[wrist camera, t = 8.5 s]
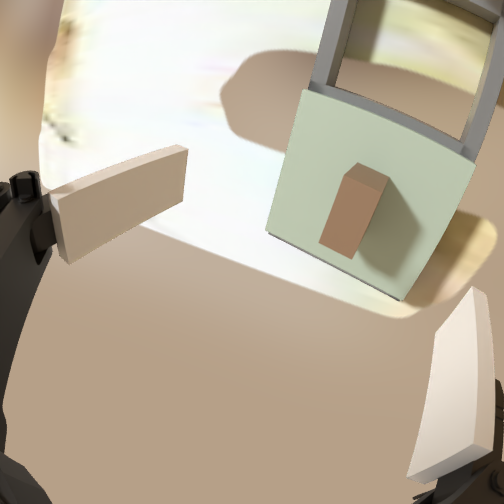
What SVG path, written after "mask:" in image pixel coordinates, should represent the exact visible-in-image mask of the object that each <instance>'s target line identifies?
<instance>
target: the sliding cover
mask: <svg viewBox="0 0 504 504" xmlns="http://www.w3.org/2000/svg"><path fill="white" fill-rule="evenodd" d="M475 168H476V164H475V163H474V162H472V161H471V160H469V159H467V158H465V157H464V156H462V155H460V154H458V153H457V152H455V151H453V150H451V149H449V148H447V147H446V146H444V145H442V144H440V143H438V142H436V141H434V140H432V139H430V138H428V137H426V136H424V135H422V134H420V133H418V132H416V131H414V130H412V129H409V128H407V127H405V126H403V125H401V124H399V123H396V122H394V121H392V120H389V119H387V118H385V117H382V116H380V115H378V114H375V113H373V112H370V111H368V110H365V109H363V108H360V107H357V106H355V105H352V104H349V103H347V102H344V101H341V100H338V99H335V98H332V97H329V96H326V95H323V94H320V93H317V92H314V91H311V90H307V89H303V91H302V94H301V98H300V102H299V106H298V109H297V113H296V117H295V121H294V125H293V128H292V132H291V136H290V139H289V143H288V147H287V151H286V154H285V158H284V162H283V166H282V169H281V173H280V177H279V180H278V184H277V188H276V192H275V195H274V199H273V203H272V206H271V210H270V214H269V217H268V221H267V225H266V228H265V230H266V231H268V232H270V233H272V234H274V235H276V236H278V237H280V238H282V239H284V240H286V241H288V242H290V243H292V244H294V245H296V246H298V247H300V248H302V249H304V250H306V251H308V252H309V253H311V254H313V255H315V256H317V257H319V258H321V259H323V260H325V261H327V262H329V263H331V264H333V265H335V266H337V267H339V268H341V269H343V270H345V271H346V272H348V273H350V274H352V275H354V276H356V277H358V278H360V279H362V280H364V281H366V282H367V283H369V284H371V285H373V286H375V287H377V288H379V289H381V290H383V291H385V292H386V293H388V294H390V295H392V296H394V297H396V298H398V299H400V300H401V301H403V299H404V298H405V296H406V295H407V293H408V292H409V290H410V289H411V287H412V286H413V284H414V283H415V281H416V279H417V278H418V276H419V275H420V273H421V271H422V270H423V268H424V267H425V265H426V263H427V262H428V260H429V258H430V256H431V255H432V253H433V251H434V250H435V248H436V246H437V244H438V243H439V241H440V239H441V237H442V235H443V234H444V232H445V230H446V228H447V226H448V224H449V222H450V220H451V219H452V217H453V215H454V213H455V211H456V209H457V207H458V205H459V203H460V201H461V199H462V197H463V194H464V192H465V190H466V188H467V186H468V183H469V182H470V179H471V177H472V175H473V172H474V170H475Z"/></svg>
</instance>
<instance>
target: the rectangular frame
mask: <svg viewBox="0 0 504 504" xmlns="http://www.w3.org/2000/svg"><path fill="white" fill-rule="evenodd" d="M444 1H447V2H449V3H451V4H454V5H456V6H458V7H460V8H463V9H465V10H467V11H469V12H471V13H473V14H475V15H477V16H479V17H481V18H483V19H485V20H487V21H489V22H491V23H493V24H494V25H493V30H492V35H491V39H490V44H489V48H488V52H487V56H486V60H485V64H484V68H483V72H482V75H481V79H480V82H479V85H478V89H477V92H476V95H475V98H474V102H473V105H472V108H471V111H470V113H469V116H468V119H467V122H466V125H465V128H464V130H463V133H462V136H461V138H460V141H459V140H457V139H456V138H454V137H452V136H450V135H448V134H446V133H444V132H442V131H441V130H438V129H436V128H434V127H433V126H430V125H429V124H427V123H424V122H422V121H420V120H418V119H416V118H414V117H412V116H409V115H407V114H405V113H403V112H400V111H398V110H396V109H393V108H391V107H389V106H386V105H384V104H381V103H379V102H377V101H374V100H371V99H369V98H366V97H364V96H361V95H358V94H355V93H353V92H350V91H347V90H344V89H341V88H338V87H335V83H336V79H337V76H338V73H339V69H340V66H341V62H342V58H343V55H344V51H345V47H346V44H347V40H348V36H349V32H350V29H351V25H352V21H353V17H354V13H355V10H356V6H357V2H358V0H331V3H330V7H329V11H328V15H327V19H326V22H325V26H324V30H323V34H322V38H321V42H320V45H319V49H318V53H317V57H316V61H315V64H314V69H313V72H312V76H311V79H310V83H309V87H308V90H311V91H314V92H317V93H320V94H323V95H326V96H329V97H332V98H335V99H338V100H341V101H344V102H347V103H349V104H352V105H355V106H357V107H360V108H363V109H365V110H368V111H370V112H373V113H375V114H378V115H380V116H382V117H385V118H387V119H389V120H392V121H394V122H396V123H399V124H401V125H403V126H405V127H407V128H409V129H412V130H414V131H416V132H418V133H420V134H422V135H424V136H426V137H428V138H430V139H432V140H434V141H436V142H438V143H440V144H442V145H444V146H446V147H447V148H449V149H451V150H453V151H455V152H457V153H458V154H460V155H462V156H464V157H465V158H467V159H469V160H471V161H472V162H475V160H476V157H477V155H478V153H479V150H480V148H481V145H482V142H483V140H484V137H485V135H486V132H487V129H488V126H489V123H490V121H491V118H492V115H493V112H494V109H495V106H496V103H497V99H498V96H499V93H500V90H501V86H502V83H503V79H504V0H444ZM268 234H270V235H272V236H274V237H276V238H278V239H280V240H282V241H284V242H286V243H288V244H290V245H292V246H294V247H296V248H298V249H299V250H301V251H303V252H305V253H307V254H309V255H311V256H313V257H315V258H317V259H319V260H321V261H323V262H325V263H327V264H329V265H331V266H333V267H335V268H337V269H338V270H340V271H342V272H344V273H346V274H348V275H350V276H352V277H354V278H356V279H358V280H360V281H361V282H363V283H365V284H367V285H369V286H371V287H373V288H375V289H377V290H379V291H380V292H382V293H384V294H386V295H388V296H390V297H392V298H394V299H395V300H397V301H400V299H398V298H396V297H394V296H392V295H390V294H388V293H386V292H385V291H383V290H381V289H379V288H377V287H375V286H373V285H371V284H369V283H367V282H366V281H364V280H362V279H360V278H358V277H356V276H354V275H352V274H350V273H348V272H346V271H345V270H343V269H341V268H339V267H337V266H335V265H333V264H331V263H329V262H327V261H325V260H323V259H321V258H319V257H317V256H315V255H313V254H311V253H309V252H308V251H306V250H304V249H302V248H300V247H298V246H296V245H294V244H292V243H290V242H288V241H286V240H284V239H282V238H280V237H278V236H276V235H274V234H272V233H270V232H269V233H268Z"/></svg>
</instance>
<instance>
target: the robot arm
mask: <svg viewBox="0 0 504 504" xmlns="http://www.w3.org/2000/svg"><path fill="white" fill-rule="evenodd" d="M187 156H188V149H187V148H184V147H182V146H179V145H173V146H169V147H166V148H163V149H160V150H157V151H153V152H150V153H147V154H144V155H141V156H138V157H135V158H133V159H130V160H127V161H124V162H121V163H118V164H116V165H113V166H110V167H108V168H105V169H102V170H100V171H97V172H95V173H92V174H89V175H87V176H84V177H82V178H80V179H77V180H75V181H72V182H70V183H68V184H65V185H63V186H61V187H58V188H56V189H54V190H52V191H50V192H48V194H46V195H43V196H42V194H41V187H40V179H39V174H38V172H36V171H24V172H20V173H18V174H16V175H14V176H12V177H11V178H10V179H9V180H10V184H9V183H6V182H0V504H52V502H51V501H50V499H49V498H48V496H47V494H46V492H45V491H44V490H43V488H42V487H41V486H40V485H39V484H38V483H37V482H36V481H35V479H34V478H33V477H32V476H31V474H30V473H29V472H28V471H27V469H26V468H25V467H24V466H23V465H21V464H19V463H17V462H16V461H14V460H12V459H10V458H9V457H8V456H6V455H5V454H4V450H5V441H6V434H7V424H6V419H5V416H4V413H3V408H2V405H3V398H4V394H5V389H6V385H7V381H8V377H9V373H10V369H11V365H12V361H13V358H14V354H15V351H16V348H17V344H18V341H19V338H20V334H21V332H22V328H23V326H24V322H25V320H26V317H27V314H28V311H29V308H30V306H31V303H32V300H33V298H34V295H35V293H36V290H37V287H38V285H39V283H40V280H41V278H42V275H43V273H44V271H45V269H46V266H47V264H48V262H49V259H50V258H51V255H52V245H54V244H56V243H57V247H58V251H59V256H60V257H61V258H62V259H64V261H66V262H67V263H68V264H69V265H70V264H72V263H73V262H75V261H77V260H78V259H80V258H81V257H83V256H85V255H87V254H88V253H90V252H92V251H93V250H95V249H97V248H98V247H100V246H102V245H103V244H105V243H107V242H109V241H110V240H112V239H114V238H115V237H117V236H119V235H121V234H123V233H124V232H126V231H128V230H130V229H132V228H133V227H135V226H137V225H139V224H141V223H142V222H144V221H146V220H148V219H150V218H152V217H153V216H155V215H157V214H159V213H161V212H163V211H165V210H167V209H169V208H170V207H172V206H174V205H176V204H178V203H180V202H182V201H183V192H184V182H185V173H186V164H187ZM493 353H494V352H493V341H492V331H491V323H490V316H489V309H488V303H487V296H486V294H485V293H483V292H481V291H480V290H478V289H477V288H475V287H473V286H472V287H471V288H470V290H469V291H468V292H467V294H466V295H465V296H464V298H463V299H462V300H461V302H460V303H459V304H458V306H457V307H456V309H455V310H454V311H453V312H452V313H451V315H450V316H449V317H448V318H447V320H446V321H445V322H444V323H443V324H442V326H441V327H440V328H439V329H438V330H437V332H436V333H435V340H434V350H433V359H432V365H431V373H430V379H429V385H428V391H427V397H426V402H425V407H424V412H423V417H422V421H421V426H420V430H419V434H418V438H417V442H416V446H415V450H414V453H413V457H412V460H411V463H410V467H409V470H408V473H407V476H406V478H408V479H411V480H414V481H417V482H419V483H423V484H426V483H429V482H431V481H434V480H436V479H438V481H437V485H436V488H435V489H433V490H430V491H428V492H425V493H422V494H419V495H417V496H415V497H413V499H414V500H415V499H418V498H420V499H418V500H417V501H415V502H414V503H413V504H504V462H502V461H501V459H502V448H503V433H504V422H503V420H504V411H503V409H504V394H503V390H502V387H501V383H500V381H498V380H497V379H495V368H494V354H493Z"/></svg>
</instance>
